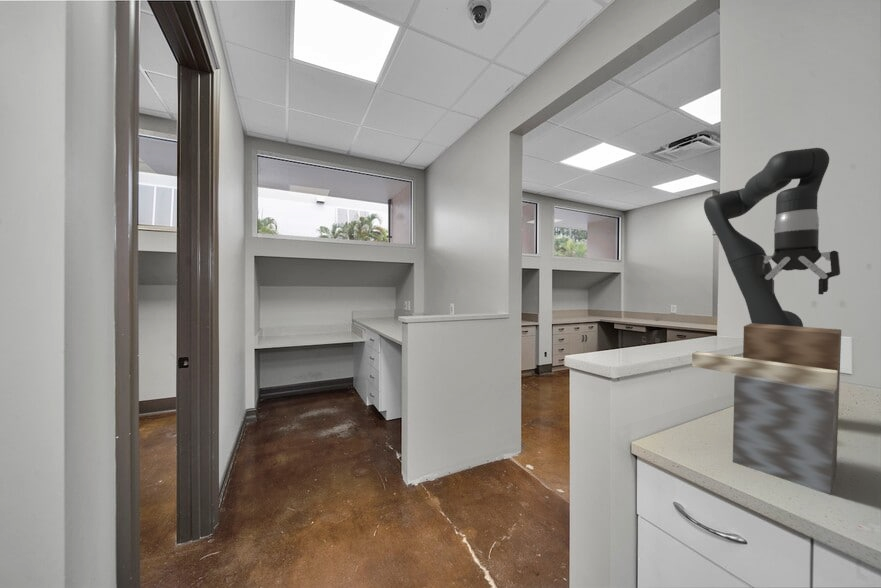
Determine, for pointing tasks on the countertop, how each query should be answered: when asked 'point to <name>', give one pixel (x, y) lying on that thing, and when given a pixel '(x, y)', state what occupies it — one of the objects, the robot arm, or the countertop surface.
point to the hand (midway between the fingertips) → (795, 294)
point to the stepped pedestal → (788, 407)
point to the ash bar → (767, 370)
